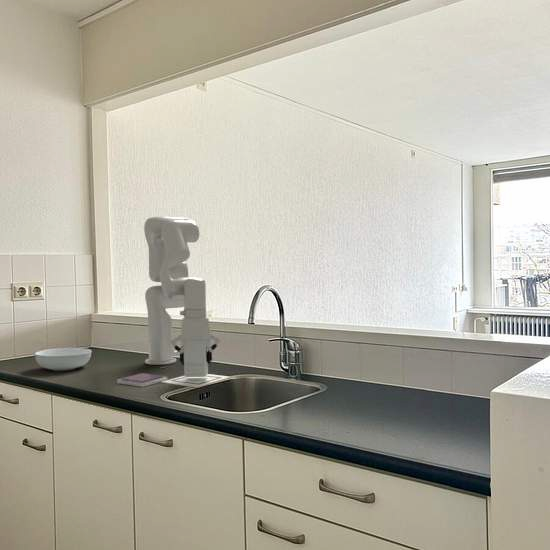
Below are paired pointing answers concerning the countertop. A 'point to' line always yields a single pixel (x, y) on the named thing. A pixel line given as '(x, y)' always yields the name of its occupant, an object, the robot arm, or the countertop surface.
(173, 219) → the robot arm
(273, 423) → the countertop surface
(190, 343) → the supplement box
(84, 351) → the serving bowl
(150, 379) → the ink pad
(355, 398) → the countertop surface
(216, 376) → the print sheet
